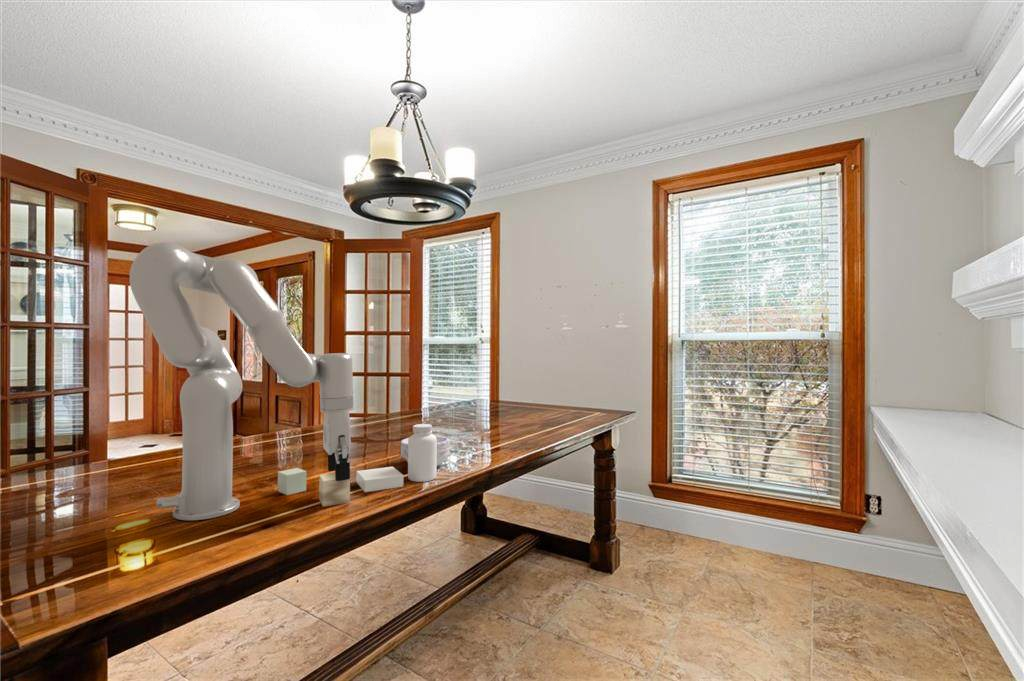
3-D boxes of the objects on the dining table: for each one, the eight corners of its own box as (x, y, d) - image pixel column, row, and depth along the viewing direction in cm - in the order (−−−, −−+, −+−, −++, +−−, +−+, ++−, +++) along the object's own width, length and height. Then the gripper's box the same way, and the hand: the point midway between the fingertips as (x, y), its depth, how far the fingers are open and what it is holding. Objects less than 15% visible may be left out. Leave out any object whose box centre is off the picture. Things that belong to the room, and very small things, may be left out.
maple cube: (322, 506, 110) (323, 481, 110) (318, 499, 115) (319, 474, 115) (349, 502, 113) (350, 477, 113) (344, 495, 118) (345, 471, 118)
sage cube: (286, 495, 118) (287, 475, 118) (277, 491, 121) (277, 471, 121) (306, 490, 122) (306, 471, 122) (296, 486, 125) (297, 467, 125)
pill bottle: (401, 479, 132) (402, 426, 132) (420, 473, 139) (420, 421, 139) (424, 484, 128) (425, 428, 128) (442, 476, 135) (442, 424, 136)
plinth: (365, 492, 121) (365, 480, 121) (356, 481, 129) (356, 470, 129) (403, 486, 126) (403, 475, 126) (392, 477, 135) (392, 466, 135)
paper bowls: (407, 458, 157) (407, 434, 157) (453, 459, 156) (453, 435, 156) (394, 470, 142) (394, 443, 142) (444, 471, 141) (445, 445, 141)
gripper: (314, 401, 120) (316, 469, 120) (326, 410, 105) (328, 487, 105) (345, 399, 124) (347, 464, 124) (361, 407, 109) (363, 481, 109)
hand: (338, 475), depth 115 cm, fingers open, 9 cm apart
